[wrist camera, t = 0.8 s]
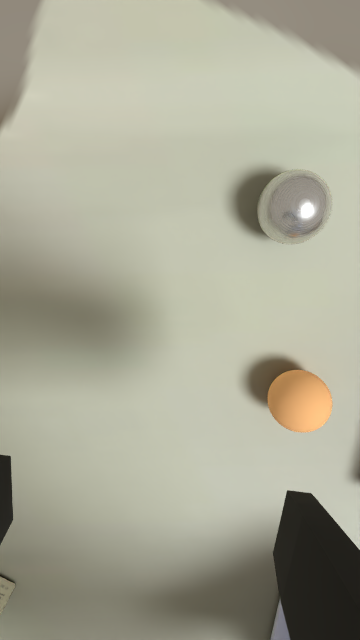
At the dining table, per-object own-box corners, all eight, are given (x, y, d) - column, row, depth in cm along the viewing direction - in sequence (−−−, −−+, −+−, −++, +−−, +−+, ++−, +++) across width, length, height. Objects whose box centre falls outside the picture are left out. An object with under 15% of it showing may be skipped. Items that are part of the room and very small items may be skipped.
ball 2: (312, 414, 19) (335, 449, 16) (258, 408, 19) (270, 441, 16) (323, 363, 18) (350, 390, 15) (266, 358, 18) (281, 382, 15)
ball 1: (309, 246, 16) (335, 248, 13) (247, 240, 16) (259, 241, 13) (322, 179, 16) (353, 165, 12) (256, 174, 16) (271, 158, 13)
